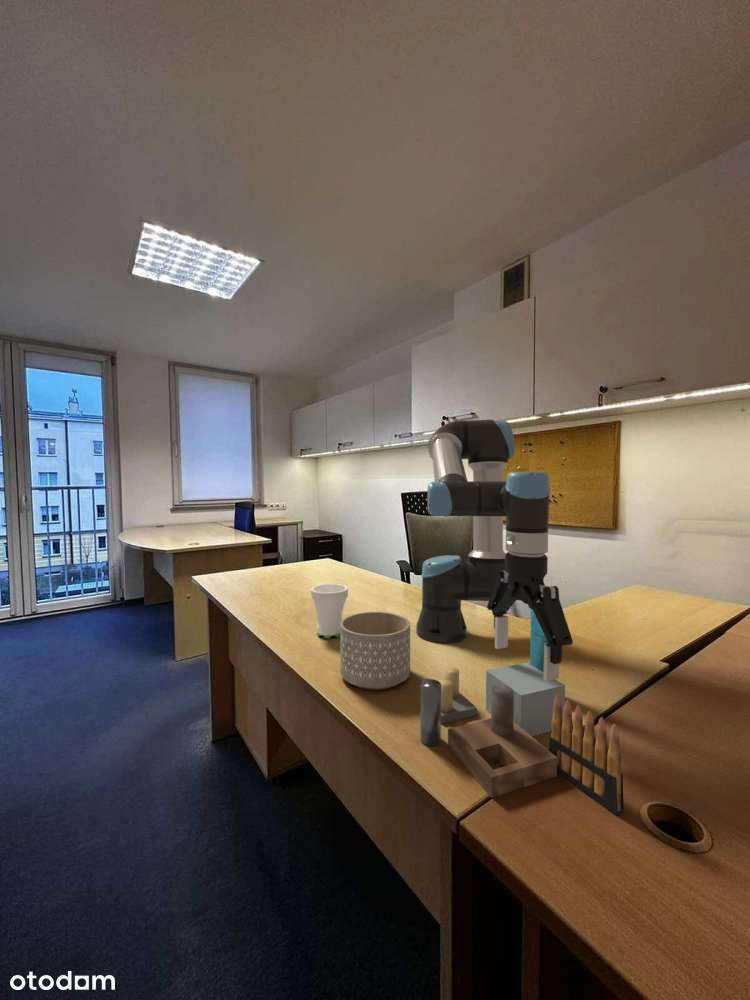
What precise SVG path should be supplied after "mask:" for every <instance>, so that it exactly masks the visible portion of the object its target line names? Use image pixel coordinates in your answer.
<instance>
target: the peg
mask: <svg viewBox="0 0 750 1000" xmlns="http://www.w3.org/2000/svg"><path fill="white" fill-rule="evenodd" d="M419 687H420V690H419V691H420V700H419V701H420V704H419V705H420V709H419V710H420V711H419V712H420V713H419V714H420V718H419V720H420V728H419V729H420V731H419V732H420V736H419V737H420V738H419V741H420V742H421V744H422V745H423V746H426V747H428V748H429V747H431V748H433V747H437V746H439V745H440V744H441V743H442V724H441V683H440V682H439V681H438V680H437V679H433V678H427V679H422V680H421V681H420V686H419Z"/></svg>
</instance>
